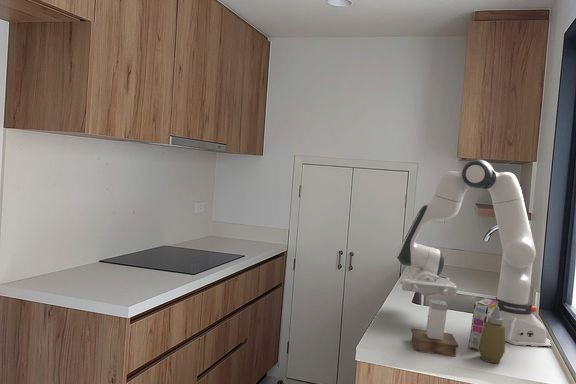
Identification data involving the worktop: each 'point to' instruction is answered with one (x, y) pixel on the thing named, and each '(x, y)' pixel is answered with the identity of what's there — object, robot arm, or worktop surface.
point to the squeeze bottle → (493, 338)
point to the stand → (434, 343)
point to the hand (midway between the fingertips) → (431, 291)
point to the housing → (436, 319)
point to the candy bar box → (480, 320)
